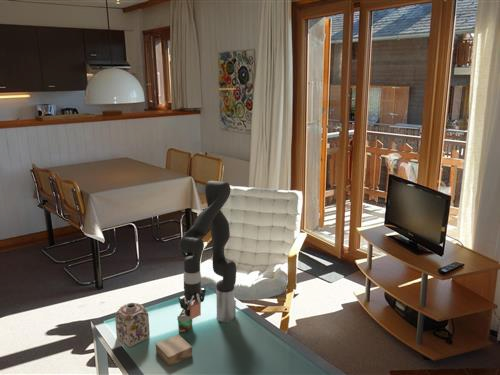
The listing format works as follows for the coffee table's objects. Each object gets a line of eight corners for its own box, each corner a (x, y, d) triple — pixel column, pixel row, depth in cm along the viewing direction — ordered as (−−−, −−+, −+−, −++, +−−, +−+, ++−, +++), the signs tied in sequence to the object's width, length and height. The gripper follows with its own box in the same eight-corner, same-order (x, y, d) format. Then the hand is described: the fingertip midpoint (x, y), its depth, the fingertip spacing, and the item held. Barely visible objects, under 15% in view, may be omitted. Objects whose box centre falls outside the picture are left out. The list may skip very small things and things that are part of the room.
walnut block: (178, 343, 213) (178, 334, 212) (192, 356, 204) (191, 346, 203) (156, 353, 206) (155, 343, 205) (168, 366, 197) (168, 357, 196)
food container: (189, 336, 219) (189, 318, 216) (177, 334, 220) (177, 316, 217) (197, 322, 230) (197, 304, 227) (186, 320, 231) (185, 303, 228)
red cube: (193, 310, 206) (193, 299, 204) (200, 314, 202) (200, 303, 201) (185, 314, 202) (184, 302, 201) (191, 319, 199) (191, 307, 197)
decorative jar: (150, 337, 217) (148, 304, 212) (129, 348, 209) (127, 314, 204) (136, 327, 225) (134, 295, 220) (116, 337, 217) (113, 305, 212)
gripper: (199, 271, 205) (199, 304, 209) (173, 281, 195) (174, 316, 200) (210, 277, 200) (210, 310, 204) (184, 287, 190) (185, 322, 195)
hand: (192, 313), depth 202 cm, fingers closed on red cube, 5 cm apart
